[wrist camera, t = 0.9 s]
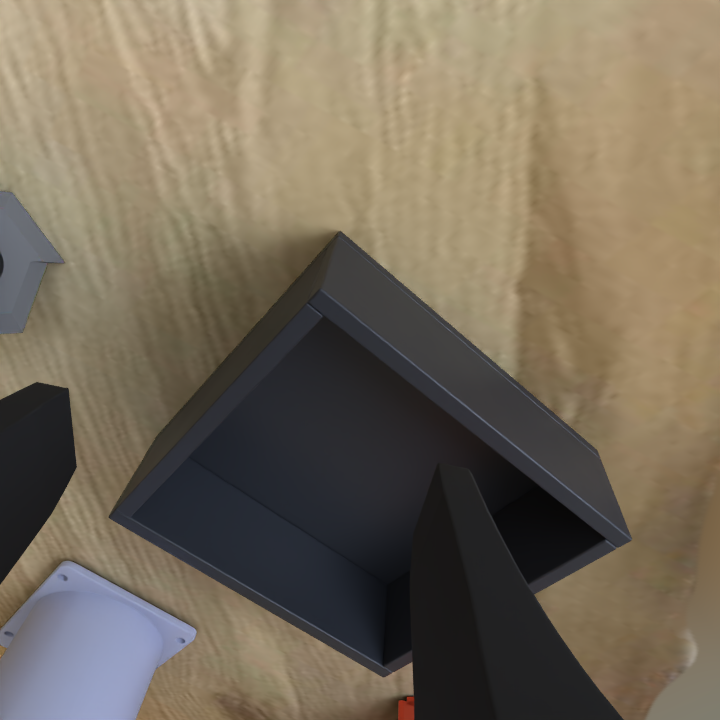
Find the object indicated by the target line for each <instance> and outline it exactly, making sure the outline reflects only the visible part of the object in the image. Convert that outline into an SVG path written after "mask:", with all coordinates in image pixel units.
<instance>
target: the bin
mask: <svg viewBox="0 0 720 720" xmlns="http://www.w3.org/2000/svg"><path fill="white" fill-rule="evenodd" d="M437 463H442V464H447V465H452V466H457V467H462V468H467V469H469V470H470V472H471V473H472V475H473V477H474V480H475V482H476V484H477V486H478V488H479V491H480V493H481V495H482V497H483V499H484V502H485V504H486V506H487V508H488V510H489V512H490V514H491V516H492V518H493V520H494V522H495V524H496V526H497V529H498V530H499V532H500V534H501V536H502V538H503V540H504V542H505V544H506V546H507V548H508V550H509V551H510V553H511V555H512V557H513V559H514V561H515V563H516V564H517V566H518V568H519V570H520V572H521V573H522V575H523V577H524V579H525V580H526V582H527V584H528V586H529V587H530V589H531V591H532V592H533V594H536V593H538V592H539V591H541V590H543V589H545V588H547V587H548V586H550V585H552V584H554V583H556V582H557V581H559V580H561V579H563V578H565V577H566V576H568V575H570V574H572V573H574V572H575V571H577V570H579V569H581V568H583V567H584V566H586V565H588V564H590V563H592V562H594V561H595V560H597V559H599V558H601V557H603V556H604V555H606V554H608V553H610V552H612V551H613V550H615V549H616V547H621V546H622V545H624V544H626V543H628V542H630V541H631V540H632V538H631V535H630V533H629V530H628V528H627V525H626V523H625V520H624V518H623V515H622V513H621V510H620V507H619V505H618V502H617V500H616V497H615V495H614V492H613V490H612V487H611V485H610V482H609V479H608V477H607V474H606V472H605V469H604V467H603V464H602V462H601V459H600V456H599V454H598V451H597V450H596V449H595V448H594V447H593V446H592V445H590V444H589V443H588V442H587V441H586V440H585V439H583V438H582V437H581V436H580V435H579V434H578V433H576V432H575V431H574V430H573V429H572V428H571V427H569V426H568V425H567V424H566V423H565V422H563V421H562V420H561V419H560V418H559V417H558V416H556V415H555V414H554V413H553V412H552V411H551V410H549V409H548V408H547V407H546V406H545V405H544V404H542V403H541V402H540V401H539V400H538V399H537V398H535V397H534V396H533V395H532V394H531V393H530V392H528V391H527V390H526V389H525V388H524V387H523V386H521V385H520V384H519V383H518V382H517V381H515V380H514V379H513V378H512V377H511V376H510V375H508V374H507V373H506V372H505V371H504V370H503V369H501V368H500V367H499V366H498V365H497V364H496V363H494V362H493V361H492V360H491V359H490V358H489V357H487V356H486V355H485V354H484V353H483V352H482V351H480V350H479V349H478V348H477V347H476V346H475V345H473V344H472V343H471V342H470V341H469V340H467V339H466V338H465V337H464V336H463V335H462V334H460V333H459V332H458V331H457V330H456V329H455V328H453V327H452V326H451V325H450V324H449V323H448V322H446V321H445V320H444V319H443V318H442V317H441V316H439V315H438V314H437V313H436V312H435V311H434V310H432V309H431V308H430V307H429V306H428V305H427V304H425V303H424V302H423V301H422V300H421V299H419V298H418V297H417V296H416V295H415V294H414V293H412V292H411V291H410V290H409V289H408V288H407V287H405V286H404V285H403V284H402V283H401V282H400V281H398V280H397V279H396V278H395V277H394V276H393V275H391V274H390V273H389V272H388V271H387V270H386V269H384V268H383V267H382V266H381V265H380V264H379V263H377V262H376V261H375V260H374V259H373V258H371V257H370V256H369V255H368V254H367V253H366V252H364V251H363V250H362V249H361V248H360V247H359V246H357V245H356V244H355V243H354V242H353V241H352V240H350V239H349V238H348V237H347V236H346V235H345V234H343V233H342V232H341V231H340V232H338V233H337V234H336V236H335V237H334V238H333V239H332V240H331V241H330V242H329V243H328V245H327V246H326V247H325V248H324V249H323V250H322V251H321V252H320V253H319V255H318V256H317V257H316V258H315V259H314V260H313V261H312V262H311V264H310V265H309V266H308V267H307V268H306V269H305V270H304V271H303V273H302V274H301V275H300V276H299V277H298V278H297V279H296V280H295V282H294V283H293V284H292V285H291V286H290V287H289V288H288V289H287V291H286V292H285V293H284V294H283V295H282V296H281V297H280V298H279V300H278V301H277V302H276V303H275V304H274V305H273V306H272V307H271V309H270V310H269V311H268V312H267V313H266V314H265V315H264V316H263V318H262V319H261V320H260V321H259V322H258V323H257V324H256V325H255V327H254V328H253V329H252V330H251V331H250V332H249V333H248V334H247V336H246V337H245V338H244V339H243V340H242V341H241V342H240V343H239V345H238V346H237V347H236V348H235V349H234V350H233V351H232V352H231V354H230V355H229V356H228V357H227V358H226V359H225V360H224V361H223V362H222V364H221V365H220V366H219V367H218V368H217V369H216V370H215V371H214V373H213V374H212V375H211V376H210V377H209V378H208V379H207V380H206V382H205V383H204V384H203V385H202V386H201V387H200V388H199V389H198V391H197V392H196V393H195V394H194V395H193V396H192V397H191V398H190V400H189V401H188V402H187V403H186V404H185V405H184V406H183V407H182V409H181V410H180V411H179V412H178V413H177V414H176V415H175V416H174V418H173V419H172V420H171V421H170V422H169V423H168V424H167V425H166V427H165V428H164V429H163V430H162V431H161V432H160V433H159V434H158V436H157V437H156V438H155V440H154V441H153V443H152V445H151V446H150V448H149V450H148V451H147V453H146V455H145V456H144V458H143V460H142V461H141V463H140V465H139V466H138V468H137V470H136V471H135V473H134V475H133V476H132V478H131V480H130V481H129V483H128V485H127V486H126V488H125V490H124V491H123V493H122V495H121V496H120V498H119V500H118V501H117V503H116V505H115V506H114V508H113V510H112V511H111V513H110V515H109V518H110V519H111V520H113V521H115V522H117V523H118V524H120V525H122V526H123V527H125V528H127V529H129V530H130V531H132V532H134V533H135V534H137V535H139V536H141V537H142V538H144V539H146V540H147V541H149V542H151V543H153V544H154V545H156V546H158V547H160V548H161V549H163V550H165V551H166V552H168V553H170V554H172V555H173V556H175V557H177V558H178V559H180V560H182V561H184V562H185V563H187V564H189V565H191V566H192V567H194V568H196V569H197V570H199V571H201V572H203V573H204V574H206V575H208V576H209V577H211V578H213V579H215V580H216V581H218V582H220V583H222V584H223V585H225V586H227V587H228V588H230V589H232V590H234V591H235V592H237V593H239V594H240V595H242V596H244V597H246V598H247V599H249V600H251V601H253V602H254V603H256V604H258V605H259V606H261V607H263V608H265V609H266V610H268V611H270V612H271V613H273V614H275V615H277V616H278V617H280V618H282V619H283V620H285V621H287V622H289V623H290V624H292V625H294V626H296V627H297V628H299V629H301V630H302V631H304V632H306V633H308V634H309V635H311V636H313V637H314V638H316V639H318V640H320V641H321V642H323V643H325V644H327V645H328V646H330V647H332V648H333V649H335V650H337V651H339V652H340V653H342V654H344V655H345V656H347V657H349V658H351V659H352V660H354V661H356V662H358V663H359V664H361V665H363V666H364V667H366V668H368V669H370V670H371V671H373V672H375V673H376V674H378V675H380V676H382V677H386V676H388V675H389V674H391V673H392V672H395V671H397V670H398V669H400V668H402V667H404V666H406V665H407V664H409V663H411V662H413V661H412V638H411V612H410V568H411V555H412V542H413V533H414V530H415V527H416V524H417V521H418V518H419V516H420V513H421V510H422V507H423V504H424V501H425V498H426V495H427V492H428V489H429V487H430V484H431V481H432V478H433V475H434V472H435V469H436V466H437Z"/></svg>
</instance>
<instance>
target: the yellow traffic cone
mask: <svg viewBox="0 0 720 720" xmlns="http://www.w3.org/2000/svg"><path fill="white" fill-rule="evenodd" d="M48 263H65V262H64V261H63V259H62V258H61V257H60V255H59V254H58V253H57V251H56V250H55V249H54V247H53V246H52V245H51V243H50V242H49V241H48V239H47V238H46V237H45V235H44V234H43V233H42V231H41V230H40V229H39V227H38V226H37V225H36V223H35V222H34V221H33V220H32V218H31V217H30V216H29V214H28V213H27V212H26V210H25V209H24V208H23V206H22V205H21V204H20V202H19V201H18V200H17V198H16V197H15V196H14V194H13V193H12V192H0V334H11V333H23V330H24V328H25V325H26V322H27V320H28V317H29V314H30V311H31V309H32V306H33V303H34V300H35V298H36V295H37V292H38V289H39V287H40V284H41V281H42V278H43V276H44V273H45V270H46V267H47V265H48Z"/></svg>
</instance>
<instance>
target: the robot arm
mask: <svg viewBox="0 0 720 720" xmlns="http://www.w3.org/2000/svg"><path fill="white" fill-rule="evenodd" d="M76 468H77V466H76V456H75V446H74V437H73V427H72V418H71V408H70V398H69V389H68V388H63V387H59V386H54V385H49V384H44V383H39V382H36V383H34V384H32V385H30V386H27V387H25V388H23V389H21V390H19V391H17V392H15V393H13V394H11V395H9V396H7V397H5V398H3V399H1V400H0V584H1V583H2V581H3V580H4V579H5V577H6V576H7V575H8V573H9V572H10V570H11V569H12V568H13V566H14V565H15V564H16V562H17V561H18V560H19V558H20V557H21V555H22V554H23V553H24V551H25V550H26V549H27V547H28V546H29V544H30V543H31V542H32V540H33V539H34V538H35V536H36V535H37V533H38V532H39V531H40V529H41V528H42V526H43V525H44V524H45V522H46V521H47V519H48V518H49V516H50V515H51V514H52V512H53V510H54V508H55V507H56V505H57V503H58V501H59V500H60V498H61V496H62V494H63V492H64V491H65V489H66V487H67V485H68V483H69V481H70V479H71V477H72V475H73V473H74V471H75V470H76ZM410 612H411V638H412V661H413V685H414V720H623V718H622V717H621V716H620V715H619V714H618V712H617V711H616V710H615V709H614V707H613V706H612V705H611V704H610V703H609V701H608V700H607V699H606V698H605V696H604V695H603V694H602V693H601V692H600V690H599V689H598V688H597V686H596V685H595V684H594V682H593V681H592V680H591V678H590V677H589V676H588V674H587V673H586V672H585V670H584V669H583V668H582V666H581V665H580V664H579V662H578V661H577V659H576V658H575V657H574V655H573V654H572V652H571V651H570V649H569V648H568V647H567V645H566V644H565V642H564V641H563V640H562V638H561V637H560V635H559V634H558V632H557V631H556V629H555V628H554V626H553V624H552V623H551V621H550V620H549V618H548V617H547V615H546V614H545V612H544V610H543V609H542V607H541V605H540V604H539V602H538V601H537V599H536V597H535V596H534V594H533V592H532V591H531V589H530V587H529V586H528V584H527V582H526V580H525V579H524V577H523V575H522V573H521V572H520V570H519V568H518V566H517V564H516V563H515V561H514V559H513V557H512V555H511V553H510V551H509V550H508V548H507V546H506V544H505V542H504V540H503V538H502V536H501V534H500V532H499V530H498V529H497V526H496V524H495V522H494V520H493V518H492V516H491V514H490V512H489V510H488V508H487V506H486V504H485V502H484V499H483V497H482V495H481V493H480V491H479V488H478V486H477V484H476V482H475V480H474V477H473V475H472V473H471V472H470V470H469V469H467V468H462V467H457V466H452V465H447V464H442V463H437V466H436V469H435V472H434V475H433V478H432V481H431V484H430V487H429V489H428V492H427V495H426V498H425V501H424V504H423V507H422V510H421V513H420V516H419V518H418V521H417V524H416V527H415V530H414V533H413V542H412V555H411V568H410ZM196 634H197V632H196V630H195V628H193V627H192V626H190V625H188V624H186V623H185V622H183V621H181V620H179V619H177V618H175V617H174V616H172V615H170V614H168V613H166V612H164V611H163V610H161V609H159V608H157V607H155V606H153V605H152V604H150V603H148V602H146V601H144V600H142V599H141V598H139V597H137V596H135V595H133V594H131V593H130V592H128V591H126V590H124V589H122V588H120V587H119V586H117V585H115V584H113V583H111V582H109V581H108V580H106V579H104V578H102V577H100V576H98V575H97V574H95V573H93V572H91V571H89V570H87V569H86V568H84V567H82V566H80V565H78V564H76V563H75V562H72V561H63V562H61V563H60V565H59V566H58V567H57V568H56V569H55V570H54V571H53V572H52V573H51V574H50V575H49V577H48V578H47V579H46V580H45V581H44V582H43V583H42V584H41V585H40V586H39V587H38V589H37V590H36V591H35V592H34V593H33V594H32V595H31V596H30V597H29V598H28V599H27V600H26V602H25V603H24V604H23V605H22V606H21V607H20V608H19V609H18V610H17V611H16V612H15V614H14V615H13V616H12V617H11V618H10V619H9V620H8V621H7V622H6V623H5V624H4V626H3V627H2V628H1V629H0V645H1V646H3V647H6V648H7V649H6V651H5V653H4V654H3V656H2V657H1V659H0V720H136V717H137V715H138V712H139V710H140V707H141V704H142V702H143V699H144V697H145V694H146V692H147V689H148V687H149V684H150V682H151V679H152V677H153V674H154V671H155V669H157V668H158V667H159V666H161V665H162V664H163V663H164V662H166V661H167V660H168V659H170V658H171V657H172V656H174V655H175V654H176V653H178V652H179V651H180V650H181V649H183V648H184V647H185V646H187V645H188V644H189V643H191V642H192V641H193V640H194V639H195V636H196Z"/></svg>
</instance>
